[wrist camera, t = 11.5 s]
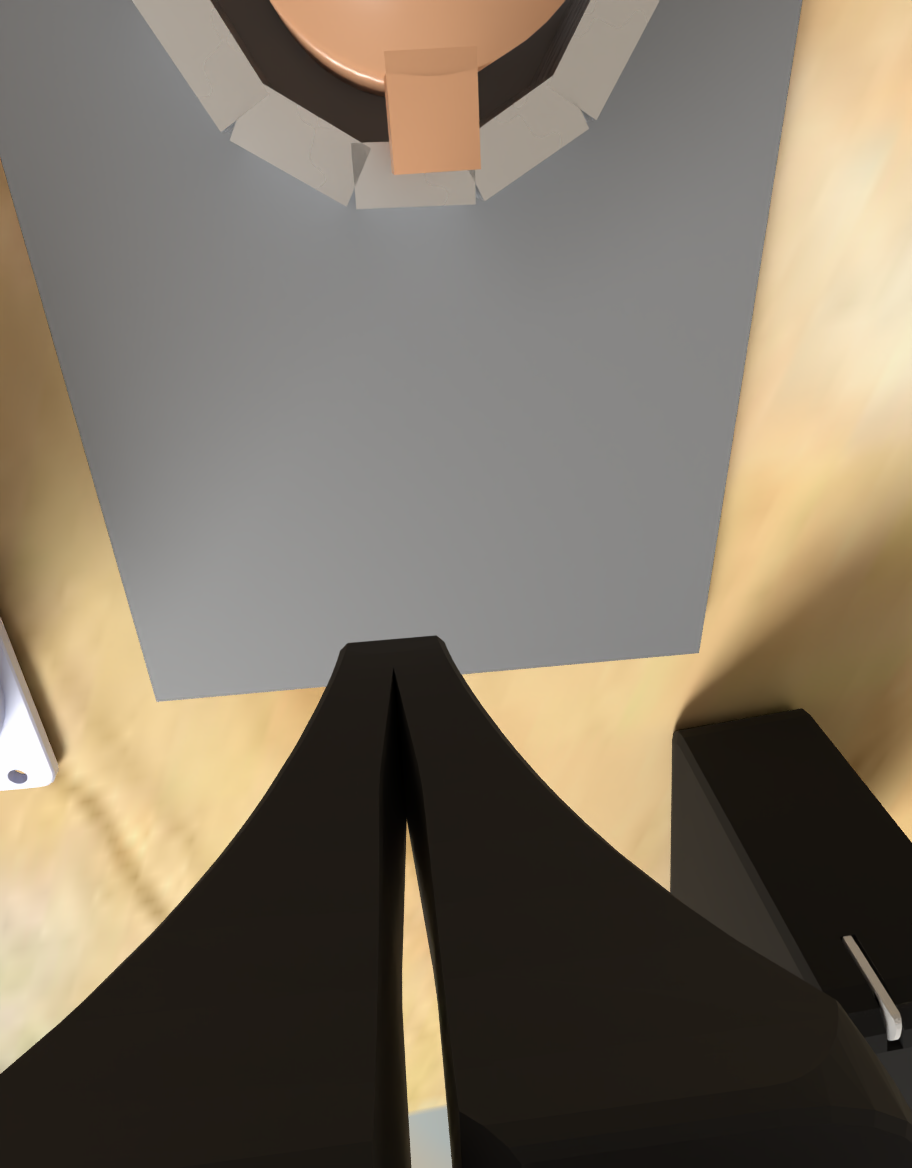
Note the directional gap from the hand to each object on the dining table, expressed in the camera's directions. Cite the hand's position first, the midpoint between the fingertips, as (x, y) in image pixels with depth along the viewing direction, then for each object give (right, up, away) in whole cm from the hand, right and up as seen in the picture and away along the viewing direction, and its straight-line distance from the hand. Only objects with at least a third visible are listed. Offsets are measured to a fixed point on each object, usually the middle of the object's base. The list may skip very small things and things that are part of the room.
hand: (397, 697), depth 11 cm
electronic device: (+10, -6, +16) cm, 20 cm away
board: (0, +9, +6) cm, 11 cm away
